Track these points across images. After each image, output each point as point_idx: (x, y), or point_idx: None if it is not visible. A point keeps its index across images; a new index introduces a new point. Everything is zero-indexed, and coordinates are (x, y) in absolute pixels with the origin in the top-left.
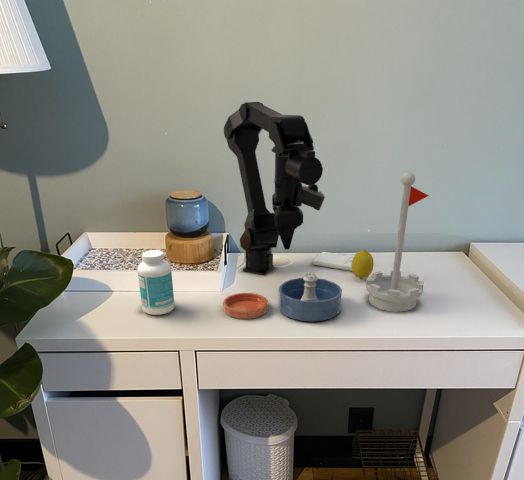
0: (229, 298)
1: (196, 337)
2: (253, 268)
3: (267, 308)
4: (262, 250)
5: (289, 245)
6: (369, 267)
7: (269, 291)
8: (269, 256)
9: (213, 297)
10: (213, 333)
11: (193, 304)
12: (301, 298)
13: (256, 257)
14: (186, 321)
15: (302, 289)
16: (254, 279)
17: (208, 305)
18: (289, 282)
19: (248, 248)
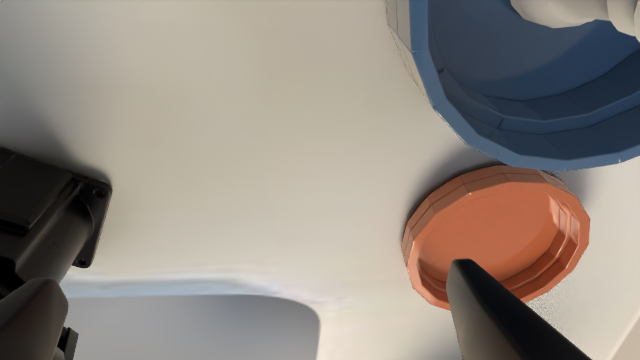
0: (442, 297)
1: (630, 326)
2: (86, 239)
3: (524, 168)
4: (12, 276)
5: (503, 292)
6: None
7: (308, 156)
8: (19, 217)
9: (363, 319)
10: (625, 296)
11: (412, 353)
12: (559, 22)
13: (58, 271)
14: None
15: (429, 9)
16: (173, 217)
17: (425, 324)
18: (459, 112)
19: (72, 351)
